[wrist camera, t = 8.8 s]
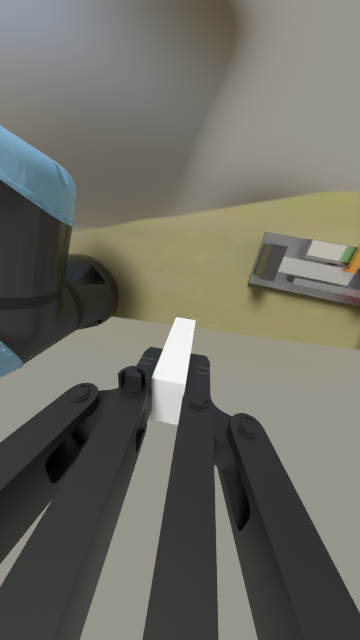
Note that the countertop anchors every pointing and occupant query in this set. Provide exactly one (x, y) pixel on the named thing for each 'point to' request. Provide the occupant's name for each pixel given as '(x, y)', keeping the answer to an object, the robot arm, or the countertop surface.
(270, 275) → the plunger
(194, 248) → the countertop surface
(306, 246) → the gauge body
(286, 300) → the countertop surface
